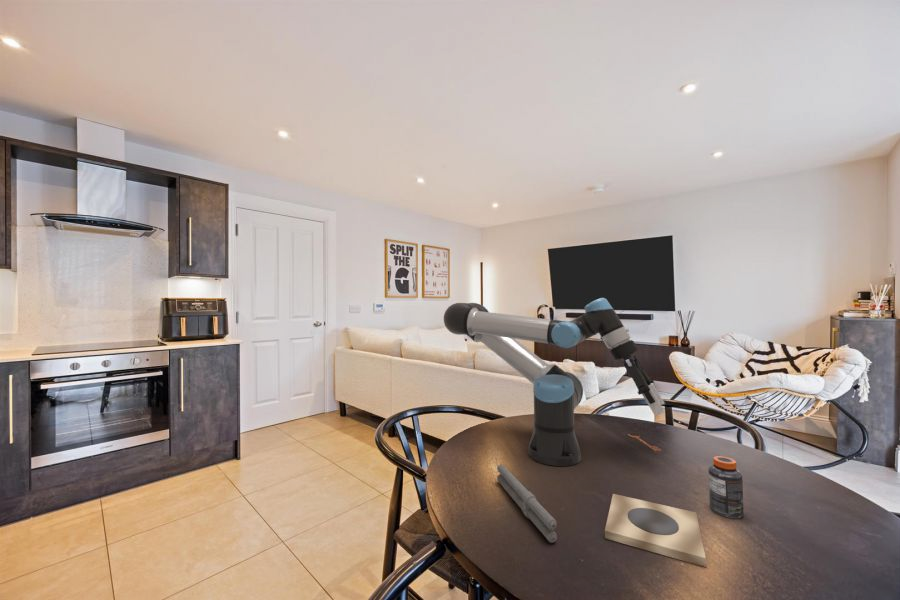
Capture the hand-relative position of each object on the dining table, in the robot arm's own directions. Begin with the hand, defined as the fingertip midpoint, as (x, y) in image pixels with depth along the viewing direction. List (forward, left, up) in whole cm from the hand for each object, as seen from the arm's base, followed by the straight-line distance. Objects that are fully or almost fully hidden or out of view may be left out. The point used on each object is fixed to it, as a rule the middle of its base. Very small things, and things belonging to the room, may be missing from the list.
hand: (660, 409), depth 106 cm
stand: (-2, -39, -15) cm, 42 cm away
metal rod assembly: (-27, -44, -15) cm, 54 cm away
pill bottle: (+12, -24, -15) cm, 31 cm away
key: (-4, +14, -15) cm, 21 cm away
